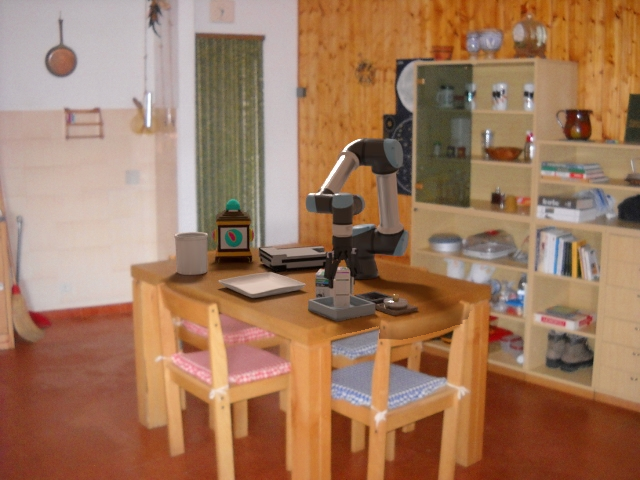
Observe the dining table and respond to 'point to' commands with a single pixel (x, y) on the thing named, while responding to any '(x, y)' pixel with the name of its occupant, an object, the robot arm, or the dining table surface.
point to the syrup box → (342, 288)
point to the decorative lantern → (233, 232)
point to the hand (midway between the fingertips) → (341, 294)
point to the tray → (328, 309)
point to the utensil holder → (191, 253)
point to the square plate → (262, 284)
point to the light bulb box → (321, 285)
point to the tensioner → (388, 303)
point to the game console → (293, 258)
